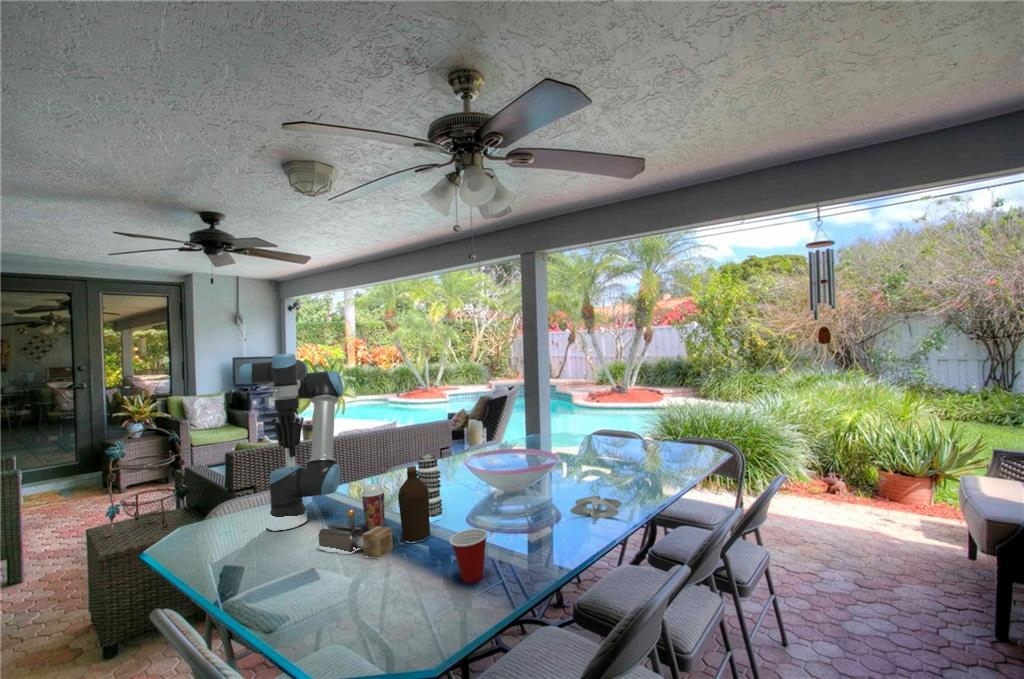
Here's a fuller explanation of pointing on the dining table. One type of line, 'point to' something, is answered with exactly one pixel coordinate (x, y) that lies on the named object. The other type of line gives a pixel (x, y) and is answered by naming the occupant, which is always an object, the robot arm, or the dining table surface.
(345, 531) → the outer sleeve
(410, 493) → the olive oil
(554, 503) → the dining table surface
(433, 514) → the decorative candle
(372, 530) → the socket block
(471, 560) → the plastic cup
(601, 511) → the sculpture
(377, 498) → the smoothie
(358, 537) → the ball knob lever
